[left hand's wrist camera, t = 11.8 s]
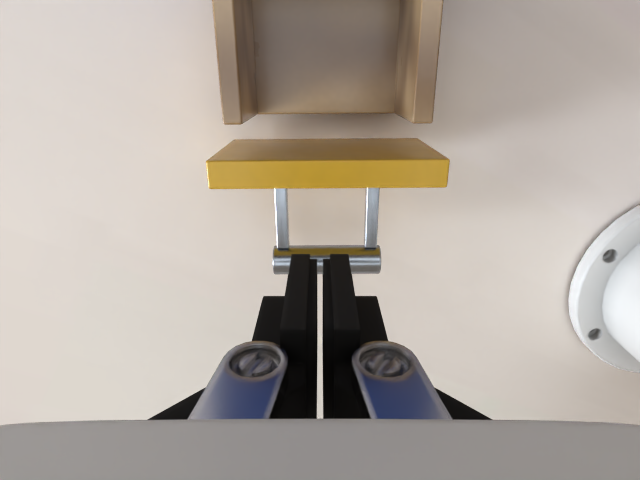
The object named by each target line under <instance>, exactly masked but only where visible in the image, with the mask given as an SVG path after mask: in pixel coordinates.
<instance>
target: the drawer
mask: <svg viewBox="0 0 640 480" xmlns="http://www.w3.org/2000/svg"><path fill="white" fill-rule="evenodd" d="M212 5H213V16H214V28H215V39H216V50H217V61H218V72H219V83H220V95H221V106H222V117H223V123H224V124H243V123H244V122H246V121H247V120H249V119H250V118H252V117H254V116H255V115H257V114H350V113H395V114H397V115H399V116H401V117H403V118H405V119H407V120H408V121H410V122H412V123H432V121H433V110H434V99H435V88H436V77H437V65H438V54H439V43H440V32H441V21H442V9H443V0H212ZM449 162H450V160H449V159H448V158H446V157H445V156H443V155H442V154H440V153H439V152H437V151H436V150H434V149H433V148H431V147H430V146H428V145H427V144H425V143H424V142H422V141H421V140H419V139H417V138H396V139H252V140H233V141H232V142H231V143H229V144H228V145H227V146H225V147H224V148H223V149H221V150H220V151H219V152H217V153H216V154H215V155H214V156H212V157H211V158H210V159H208V160H207V161H206V168H207V177H208V187H209V189H274V195H275V216H276V236H277V246H274V249H273V271H274V274H288V273H289V267H290V261H291V255H292V254H310V259H317V274H323V259H330V254H348V255H349V261H350V267H351V273H352V274H379V273H380V270H381V251H380V246H379V245H377V227H378V206H379V188H430V187H447V181H448V172H449ZM287 188H366V201H365V229H364V245H302V246H289V221H288V194H287Z"/></svg>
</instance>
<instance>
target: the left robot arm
mask: <svg viewBox="0 0 640 480" xmlns="http://www.w3.org/2000/svg"><path fill="white" fill-rule="evenodd" d="M568 302H569V316H570V319H571V322H572V325H573V328H574V330H575V332H576V333H577V335H578V337H579V338H580V340H581V341H582V342H583V343H584V344H585V345H586V346H587V347H588V348H589V350H590V351H591V352H592V353H593V354H594V355H596V356H597V357H598V358H600V359H601V360H602V361H604V362H605V363H607V364H609V365H612V366H614V367H616V368H618V369H622V370H626V371H630V372H635V373H640V205H638V206H636V207H634V208H633V209H631V210H630V211H628V212H627V213H625V214H624V215H622V216H621V217H619V218H617V219H616V220H615V221H614V222H613V223H612V224H611V225H610V226H608V227H607V228H606V229H605V230H604V231H603V232H602V233H601V234H600V235H599V236H598V237H597V238H596V240H595V241H594V242H593V243H592V244H591V246H590V247H589V248H588V249H587V251H586V252H585V254H584V256H583V257H582V259H581V261H580V263H579V264H578V266H577V268H576V271H575V274H574V276H573V279H572V282H571V286H570V293H569V299H568ZM0 480H640V425H632V424H622V423H604V422H576V421H540V420H492V419H490V418H488V417H487V416H485V415H483V414H481V413H479V412H478V411H476V410H474V409H472V408H470V407H469V406H467V405H465V404H463V403H461V402H460V401H458V400H456V399H454V398H452V397H450V396H449V395H447V394H445V393H443V392H441V391H440V390H438V389H436V388H434V387H433V385H432V383H431V381H430V380H429V378H428V376H427V375H426V373H425V371H424V369H423V368H422V366H421V364H420V362H419V361H418V359H417V357H416V356H415V355H414V354H413V352H412V351H410V350H409V349H408V348H406V347H405V346H402V345H400V344H397V343H394V342H389V341H388V339H387V335H386V331H385V327H384V323H383V319H382V315H381V311H380V307H379V303H378V300H377V297H376V296H355V292H354V286H353V280H352V273H351V267H350V261H349V255H348V254H330V259H323V419H317V259H310V254H292V255H291V261H290V267H289V273H288V280H287V286H286V292H285V296H264V297H263V300H262V303H261V307H260V311H259V315H258V319H257V323H256V327H255V331H254V335H253V339H252V341H251V342H246V343H243V344H240V345H238V346H235V347H234V348H232V349H231V350H230V351H228V352H227V354H226V355H225V356H224V357H223V359H222V361H221V362H220V364H219V366H218V368H217V369H216V371H215V373H214V375H213V376H212V378H211V380H210V381H209V383H208V385H207V387H206V388H204V389H202V390H200V391H199V392H197V393H195V394H193V395H191V396H189V397H188V398H186V399H184V400H182V401H180V402H179V403H177V404H175V405H173V406H171V407H170V408H168V409H166V410H164V411H162V412H161V413H159V414H157V415H155V416H153V417H152V418H150V419H148V420H106V421H64V422H36V423H18V424H8V425H0Z"/></svg>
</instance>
